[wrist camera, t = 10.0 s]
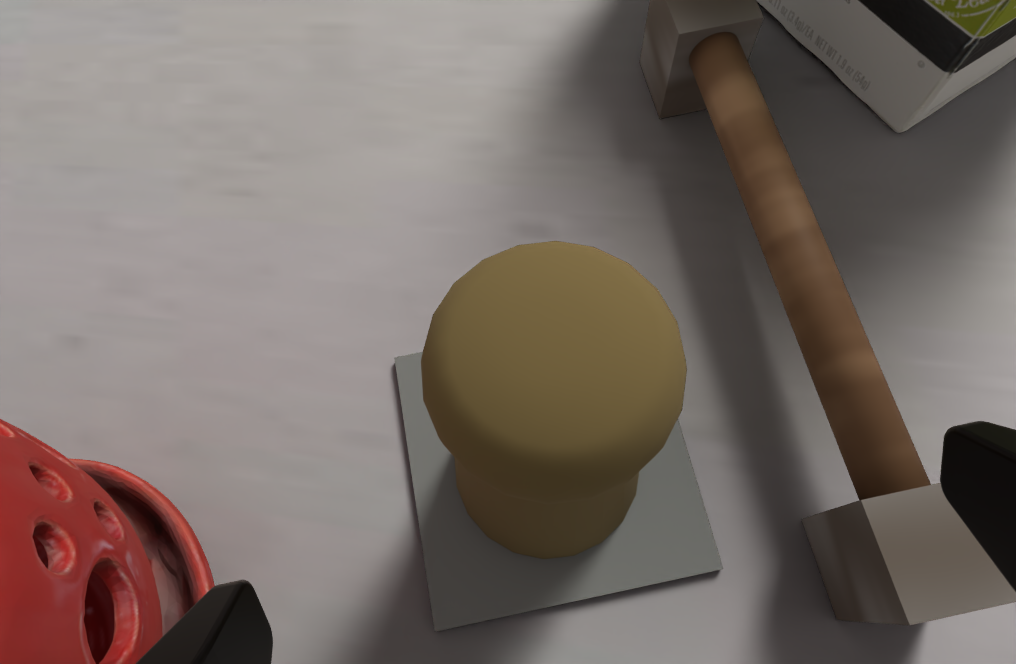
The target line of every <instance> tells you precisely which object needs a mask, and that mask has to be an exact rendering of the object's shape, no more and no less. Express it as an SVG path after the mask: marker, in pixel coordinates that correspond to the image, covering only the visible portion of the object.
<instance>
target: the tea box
mask: <svg viewBox="0 0 1016 664" xmlns="http://www.w3.org/2000/svg"><path fill="white" fill-rule="evenodd" d="M756 1H757V2H758V3H759V4H761V5H762V6H763V7H764V8H765V9H766V10H767V11H768V12H770V13H771V14H772V15H773V16H774V17H775V18H776V19H777V20H778V21H779V22H781V24H782V25H783V26H784V27H785V29H786V30H787V31H788V32H789V33H790V34H791V35H792V36H793V37H794V38H796V39H797V40H798V41H799V42H800V43H801V44H802V45H804V46H805V47H806V48H807V49H808V50H810V51H811V52H812V53H814V54H815V55H816V56H817V57H818V58H819V59H820V60H821V61H822V62H823V63H825V64H826V65H827V66H828V67H829V68H830V69H831V70H832V71H833V72H834V73H835V74H836V75H837V76H838V78H839V79H840V80H841V81H842V82H843V83H844V84H845V85H846V86H847V87H848V88H849V89H850V90H851V91H852V92H853V93H855V94H856V95H857V96H858V97H859V98H860V99H861V100H862V101H863V102H865V103H866V104H867V105H868V106H869V107H870V108H871V109H872V110H873V111H874V112H875V113H876V114H877V115H878V116H879V117H880V118H881V119H882V120H883V121H884V122H885V123H886V124H888V125H889V126H890V127H891V128H892V129H893V130H894V131H895V132H897V133H899V132H904V131H906V130H908V129H909V128H911V127H912V126H914V125H915V124H917V123H918V122H920V121H921V120H923V119H925V118H926V117H928V116H929V115H931V114H932V113H934V112H935V111H937V110H938V109H940V108H941V107H942V106H944V105H945V104H947V103H948V102H949V101H951V100H952V99H954V98H955V97H957V96H958V95H960V94H961V93H963V92H965V91H966V90H968V89H969V88H971V87H973V86H974V85H976V84H978V83H979V82H981V81H982V80H984V79H986V78H987V77H989V76H990V75H992V74H993V73H995V72H996V71H998V70H999V69H1001V68H1002V67H1003V66H1005V65H1006V64H1007V63H1009V62H1010V61H1012V60H1013V59H1015V58H1016V0H756Z"/></svg>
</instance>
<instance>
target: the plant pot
mask: <svg viewBox="0 0 1016 664" xmlns="http://www.w3.org/2000/svg"><path fill="white" fill-rule="evenodd" d="M214 586H215V585H214V581H213V577H212V573H211V570H210V567H209V564H208V561H207V559H206V557H205V554H204V552H203V549H202V547H201V545H200V543H199V541H198V539H197V537H196V535H195V533H194V532H193V530H192V528H191V527H190V525H189V523H188V522H187V520H186V519H185V518H184V517H183V515H182V514H181V513H180V511H179V510H178V509H177V508H176V507H175V506H174V505H173V504H172V502H171V501H170V500H169V499H168V498H167V497H165V496H164V495H163V494H162V493H161V492H160V491H158V490H157V489H156V488H155V487H153V486H152V485H150V484H149V483H148V482H146V481H144V480H143V479H141V478H139V477H137V476H135V475H134V474H132V473H130V472H128V471H125V470H123V469H121V468H119V467H116V466H113V465H109V464H106V463H101V462H96V461H90V460H82V459H68V458H66V457H65V456H63V455H62V454H61V453H59V452H58V451H56V450H55V449H53V448H52V447H50V446H48V445H47V444H45V443H43V442H42V441H40V440H38V439H37V438H35V437H33V436H31V435H30V434H28V433H26V432H24V431H23V430H21V429H19V428H17V427H15V426H13V425H11V424H9V423H7V422H5V421H3V420H1V419H0V664H135V663H136V662H137V661H138V660H139V659H140V658H141V657H142V656H143V655H144V654H145V653H146V652H147V651H148V650H150V649H151V648H152V647H153V646H154V645H155V644H156V643H157V642H158V641H159V640H160V639H161V638H162V637H163V636H164V635H165V634H166V633H167V632H168V631H169V630H170V629H171V628H172V627H173V626H174V625H175V624H176V623H177V622H178V621H179V620H180V619H181V618H182V617H183V616H184V615H185V614H186V613H187V612H188V611H189V610H190V609H191V608H192V607H193V606H194V605H195V604H196V603H197V602H198V601H199V600H200V599H201V598H202V597H203V596H204V595H205V594H206V593H207V592H208V591H209V590H210V589H211V588H213V587H214Z"/></svg>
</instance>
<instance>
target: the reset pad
mask: <svg viewBox="0 0 1016 664" xmlns="http://www.w3.org/2000/svg"><path fill="white" fill-rule="evenodd" d="M422 354H423V352H420V353H415V354H411V355H406V356H401V357H396V358H395V365H396V372H397V379H398V386H399V392H400V399H401V406H402V413H403V420H404V427H405V433H406V440H407V447H408V454H409V461H410V467H411V474H412V481H413V488H414V495H415V502H416V508H417V515H418V522H419V529H420V536H421V542H422V549H423V556H424V563H425V570H426V577H427V583H428V590H429V597H430V604H431V611H432V617H433V624H434V631H435V632H436V631H441V630H445V629H450V628H454V627H459V626H464V625H468V624H473V623H477V622H482V621H487V620H491V619H496V618H500V617H505V616H510V615H514V614H519V613H523V612H528V611H533V610H537V609H542V608H546V607H551V606H556V605H560V604H565V603H569V602H574V601H579V600H583V599H588V598H592V597H597V596H601V595H606V594H611V593H615V592H620V591H624V590H629V589H634V588H638V587H643V586H647V585H652V584H657V583H661V582H666V581H670V580H675V579H680V578H684V577H689V576H693V575H698V574H703V573H707V572H712V571H716V570H721V569H723V566H722V563H721V560H720V556H719V553H718V550H717V546H716V543H715V540H714V537H713V533H712V530H711V527H710V523H709V520H708V517H707V513H706V510H705V507H704V504H703V500H702V497H701V494H700V490H699V487H698V484H697V481H696V477H695V474H694V471H693V467H692V464H691V461H690V457H689V454H688V451H687V448H686V444H685V441H684V438H683V434H682V431H681V428H680V425H679V421H678V419H677V421H676V423H675V425H674V427H673V429H672V431H671V433H670V435H669V437H668V439H667V441H666V443H665V445H664V447H663V448H662V449H661V450H660V452H659V453H658V454H657V455H656V456H655V457H654V458H653V459H652V460H651V461H650V462H649V463H648V464H646V465H645V466H644V467H643V468H642V469H641V470H640V471H639V477H638V484H637V492H636V496H635V498H634V500H633V502H632V504H631V506H630V508H629V510H628V512H627V514H626V516H625V518H624V520H623V522H622V523H621V524H620V525H619V526H618V527H617V528H616V529H615V530H614V531H613V532H612V533H611V534H610V535H609V536H608V537H607V538H606V539H605V540H604V541H602V542H601V543H600V544H597V545H595V546H593V547H591V548H589V549H587V550H585V551H583V552H581V553H579V554H577V555H574V556H567V557H558V558H550V559H540V558H536V557H531V556H527V555H522V554H518V553H513V552H512V551H510V550H508V549H507V548H505V547H503V546H502V545H500V544H498V543H497V542H495V541H493V540H492V539H490V538H488V537H487V536H486V535H485V533H484V532H483V531H482V530H481V529H480V528H479V526H478V525H477V524H476V523H475V522H474V521H473V519H472V518H471V517H470V516H469V515H468V513H467V511H466V508H465V506H464V503H463V501H462V498H461V496H460V494H459V491H458V489H457V485H456V472H455V458H454V456H453V455H452V454H451V453H450V452H449V450H448V449H447V448H446V447H445V446H444V445H443V443H442V442H441V440H440V439H439V437H438V435H437V432H436V430H435V427H434V425H433V423H432V420H431V418H430V415H429V413H428V410H427V408H426V406H425V403H424V401H423V389H422V372H421V358H422Z"/></svg>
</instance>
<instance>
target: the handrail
mask: <svg viewBox="0 0 1016 664" xmlns="http://www.w3.org/2000/svg"><path fill="white" fill-rule="evenodd" d="M763 18H764V16H763V14H762V12H761V10H760V8H759V6H758V3H757V1H756V0H650V3H649V9H648V15H647V21H646V27H645V33H644V39H643V44H642V50H641V56H640V65H641V68H642V71H643V73H644V76H645V79H646V82H647V85H648V88H649V90H650V93H651V96H652V99H653V102H654V105H655V107H656V110H657V113H658V116H659V119H660V118H665V117H670V116H675V115H680V114H685V113H690V112H695V111H700V110H705V109H707V110H708V113H709V115H710V118H711V120H712V123H713V126H714V128H715V131H716V133H717V136H718V138H719V141H720V144H721V146H722V149H723V151H724V154H725V156H726V159H727V161H728V164H729V167H730V169H731V172H732V174H733V177H734V179H735V182H736V185H737V187H738V190H739V192H740V195H741V197H742V200H743V203H744V205H745V208H746V210H747V213H748V215H749V218H750V221H751V223H752V226H753V228H754V231H755V233H756V236H757V238H758V241H759V244H760V246H761V249H762V251H763V254H764V256H765V259H766V262H767V264H768V267H769V269H770V272H771V274H772V277H773V280H774V282H775V285H776V287H777V290H778V292H779V295H780V298H781V300H782V303H783V305H784V308H785V310H786V313H787V316H788V318H789V321H790V323H791V326H792V328H793V331H794V333H795V336H796V339H797V341H798V344H799V346H800V349H801V351H802V354H803V357H804V359H805V362H806V364H807V367H808V369H809V372H810V375H811V377H812V380H813V382H814V385H815V387H816V390H817V393H818V395H819V398H820V400H821V403H822V405H823V408H824V410H825V413H826V416H827V418H828V421H829V423H830V426H831V428H832V431H833V434H834V436H835V439H836V441H837V444H838V446H839V449H840V452H841V454H842V457H843V459H844V462H845V464H846V467H847V470H848V472H849V475H850V477H851V480H852V482H853V485H854V487H855V490H856V493H857V495H858V498H859V500H860V501H856V502H853V503H850V504H847V505H844V506H841V507H838V508H835V509H831V510H828V511H825V512H822V513H819V514H816V515H813V516H809V517H806V518H803V519H801V520H802V523H803V525H804V528H805V531H806V534H807V537H808V539H809V542H810V545H811V548H812V551H813V554H814V556H815V559H816V562H817V565H818V568H819V571H820V573H821V576H822V579H823V582H824V585H825V587H826V590H827V593H828V596H829V599H830V602H831V604H832V607H833V610H834V613H835V616H836V619H837V620H841V621H855V622H870V623H884V624H898V625H914V624H918V623H923V622H927V621H932V620H936V619H941V618H945V617H950V616H954V615H959V614H963V613H968V612H972V611H977V610H981V609H986V608H991V607H995V606H1000V605H1004V604H1009V603H1013V602H1016V592H1015V591H1014V589H1013V588H1012V587H1011V586H1010V584H1009V583H1008V582H1007V580H1006V579H1005V578H1004V576H1003V575H1002V574H1001V572H1000V571H999V569H998V568H997V567H996V565H995V564H994V563H993V561H992V560H991V559H990V557H989V556H988V555H987V553H986V552H985V551H984V549H983V548H982V547H981V545H980V544H979V542H978V541H977V540H976V538H975V537H974V536H973V534H972V533H971V532H970V530H969V529H968V528H967V526H966V525H965V524H964V522H963V521H962V520H961V518H960V517H959V515H958V514H957V513H956V511H955V510H954V509H953V507H952V506H951V505H950V503H949V502H948V500H947V499H946V497H945V495H944V493H943V491H942V488H941V483H938V484H933V485H931V484H930V481H929V479H928V477H927V474H926V472H925V470H924V467H923V465H922V463H921V461H920V458H919V456H918V454H917V451H916V449H915V447H914V444H913V442H912V440H911V437H910V435H909V433H908V430H907V428H906V426H905V424H904V421H903V419H902V417H901V414H900V412H899V410H898V407H897V405H896V403H895V400H894V398H893V396H892V393H891V391H890V389H889V387H888V384H887V382H886V380H885V377H884V375H883V373H882V370H881V368H880V366H879V363H878V361H877V359H876V356H875V354H874V352H873V349H872V347H871V345H870V343H869V340H868V338H867V336H866V333H865V331H864V329H863V326H862V324H861V322H860V319H859V317H858V315H857V312H856V310H855V308H854V306H853V303H852V301H851V299H850V296H849V294H848V292H847V289H846V287H845V285H844V282H843V280H842V278H841V275H840V273H839V271H838V269H837V266H836V264H835V262H834V259H833V257H832V255H831V252H830V250H829V248H828V245H827V243H826V241H825V238H824V236H823V234H822V232H821V229H820V227H819V225H818V222H817V220H816V218H815V215H814V213H813V211H812V208H811V206H810V204H809V201H808V199H807V197H806V195H805V192H804V190H803V188H802V185H801V183H800V181H799V178H798V176H797V174H796V171H795V169H794V167H793V164H792V162H791V160H790V158H789V155H788V153H787V151H786V148H785V146H784V144H783V141H782V139H781V137H780V134H779V132H778V130H777V127H776V125H775V123H774V121H773V118H772V116H771V114H770V111H769V109H768V107H767V104H766V102H765V100H764V97H763V95H762V93H761V90H760V88H759V86H758V83H757V81H756V79H755V77H754V74H753V72H752V70H751V67H750V65H749V63H748V59H749V56H750V53H751V51H752V48H753V45H754V43H755V40H756V37H757V34H758V32H759V29H760V26H761V24H762V21H763Z"/></svg>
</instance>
